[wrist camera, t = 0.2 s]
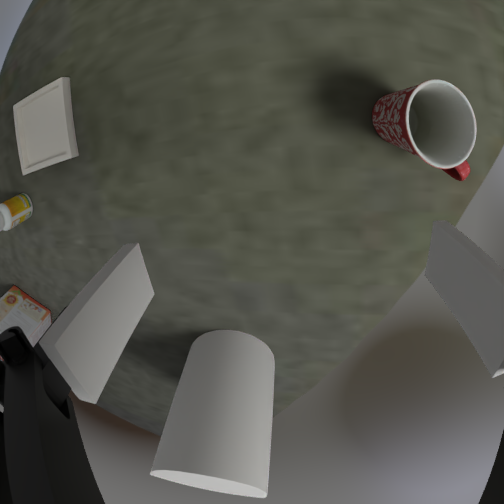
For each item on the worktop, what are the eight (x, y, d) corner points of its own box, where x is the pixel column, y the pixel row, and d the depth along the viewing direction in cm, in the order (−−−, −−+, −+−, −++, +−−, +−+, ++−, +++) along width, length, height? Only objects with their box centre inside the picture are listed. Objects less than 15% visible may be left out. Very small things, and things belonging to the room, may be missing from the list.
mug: (351, 112, 33) (387, 112, 21) (394, 75, 29) (444, 63, 17) (405, 181, 36) (452, 213, 24) (444, 145, 33) (500, 164, 21)
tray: (20, 104, 33) (13, 105, 32) (69, 77, 32) (62, 77, 30) (29, 172, 40) (22, 175, 38) (79, 155, 38) (71, 158, 36)
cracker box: (16, 299, 56) (-28, 347, 37) (14, 283, 53) (-34, 332, 34) (52, 325, 58) (10, 381, 39) (51, 310, 55) (4, 368, 36)
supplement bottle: (34, 219, 44) (3, 240, 36) (19, 214, 44) (-12, 233, 35) (33, 194, 42) (-1, 212, 33) (17, 190, 41) (-15, 206, 33)
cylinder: (194, 319, 50) (145, 458, 26) (286, 341, 51) (283, 486, 26) (186, 373, 58) (152, 485, 33) (261, 391, 59) (251, 505, 34)
